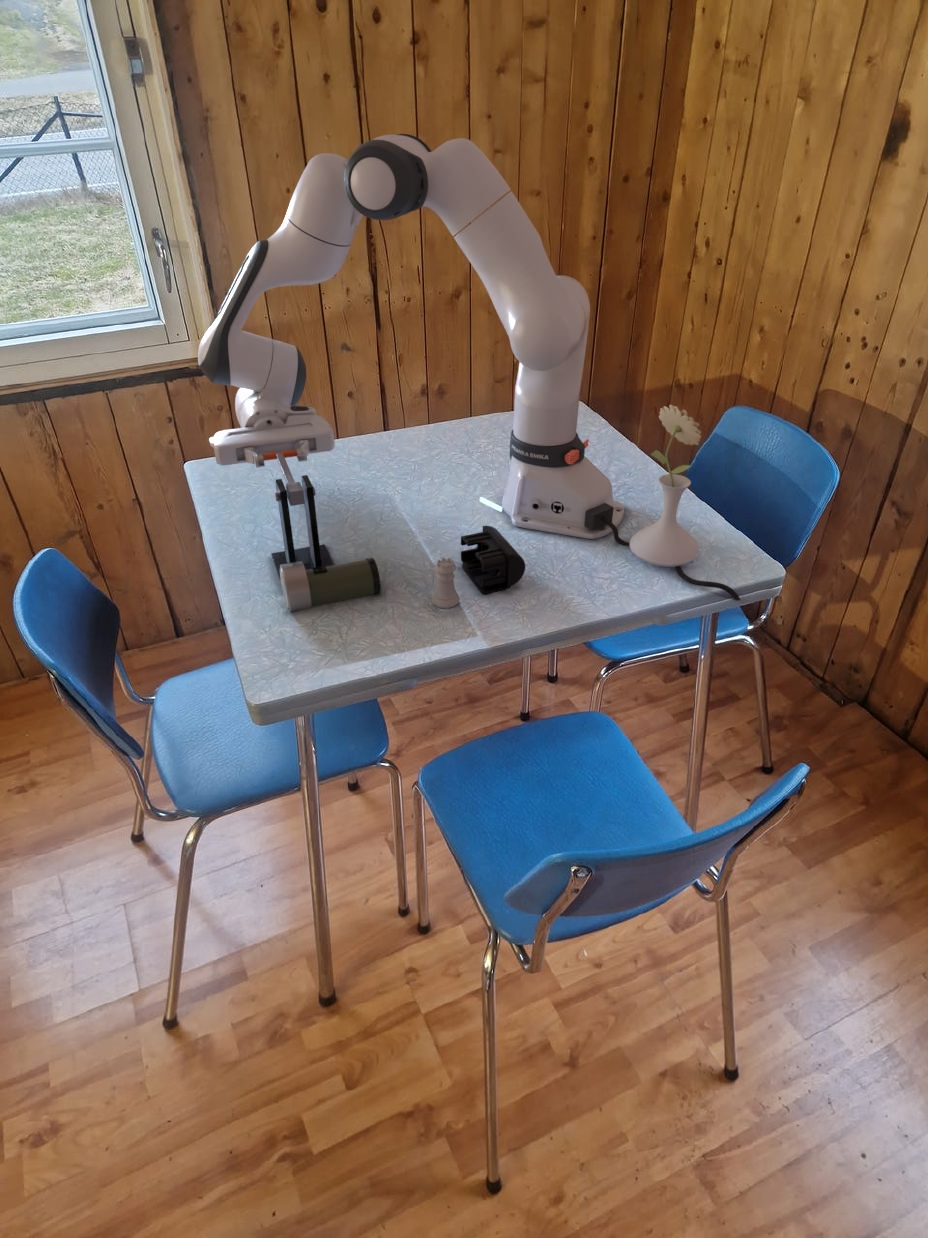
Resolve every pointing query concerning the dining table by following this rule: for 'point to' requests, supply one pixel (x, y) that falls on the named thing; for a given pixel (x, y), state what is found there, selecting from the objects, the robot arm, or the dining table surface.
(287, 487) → the switch lever
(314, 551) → the black lever stand
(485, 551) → the end cap
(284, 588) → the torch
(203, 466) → the dining table surface
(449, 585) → the rook chess piece
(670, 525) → the flower in vase
